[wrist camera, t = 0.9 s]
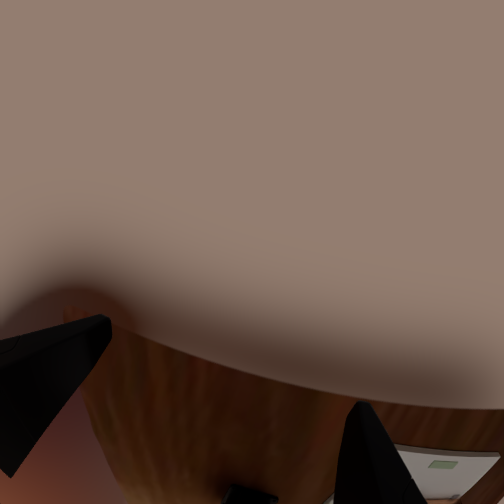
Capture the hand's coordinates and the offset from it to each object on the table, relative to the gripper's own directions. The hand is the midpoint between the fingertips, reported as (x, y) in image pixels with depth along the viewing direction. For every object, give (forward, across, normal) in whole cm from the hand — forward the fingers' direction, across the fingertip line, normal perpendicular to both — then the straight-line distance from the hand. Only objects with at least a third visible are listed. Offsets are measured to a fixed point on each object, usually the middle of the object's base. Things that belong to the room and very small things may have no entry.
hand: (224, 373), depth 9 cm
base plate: (+9, -25, +27) cm, 38 cm away
